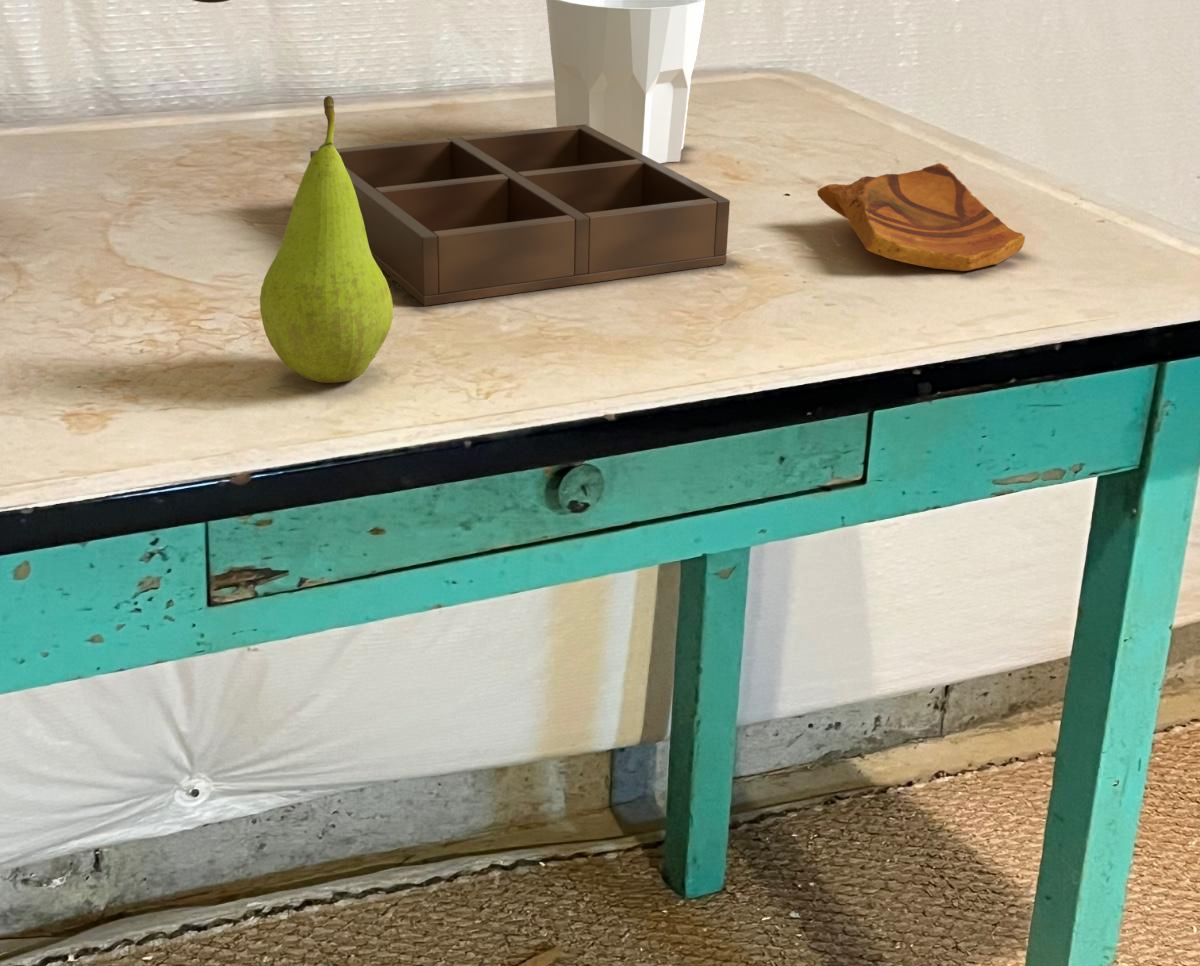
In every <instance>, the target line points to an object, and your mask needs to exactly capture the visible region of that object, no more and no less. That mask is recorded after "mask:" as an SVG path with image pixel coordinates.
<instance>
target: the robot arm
mask: <svg viewBox="0 0 1200 966" xmlns="http://www.w3.org/2000/svg"><path fill="white" fill-rule="evenodd" d="M192 1H193V2H198V3H206V4H207V3H208V4H217V3H224V2H229V1H230V0H192Z"/></svg>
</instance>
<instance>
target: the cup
mask: <svg viewBox="0 0 1200 966" xmlns="http://www.w3.org/2000/svg"><path fill="white" fill-rule="evenodd" d="M545 1H546V13H547V23H548V33H549V44H550V45H549V46H550V55H551V64H552V73H553V81H554V102H555V121H556V127H562V126H572V125H573V126H575V125H583V124H585V125H587V126H589V127H591V128H593V129H595V130H597V131H599V132H601V133H602V134H604V135H606V136H608V137H610V138H612V139H614V140H616V141H618V142H620V143H621V144H623V145H625V146H627V147H629V148H631V149H633V150H635V151H637V152H639V153H641V154H642V155H644V156H646V157H648V158H650V159H652V160H654V161H656V162H658V163H660V164H664V163H665V164H666V163H677V162H678V163H679V162H681V156H682V150H683V149H684V144H685V143H684V142H685V134H686V126H687V118H688V117H687V116H688V108H689V99H690V91H691V81H692V75H693V72H694V67H695V64H696V60H697V56H698V55H697V53H698V48H699V43H700V37H701V31H702V27H703V26H702V25H703V20H704V19H703V18H704V13H705V9H706V2H707V1H706V0H545Z"/></svg>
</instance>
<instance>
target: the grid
mask: <svg viewBox="0 0 1200 966" xmlns="http://www.w3.org/2000/svg"><path fill="white" fill-rule="evenodd" d="M335 149H336V150H337V152H338V153H339V155H340V156H341V159H342V161H343V164H344V166H345V168H346V170H347V172H348V174H349V177H350V179H351V181H352V184H353V187H354V190H355V193H356V196H357V199H358V203H359V207H360V210H361V214H362V217H363V221H364V226H365V231H366V235H367V240H368V244H369V248H370V251H371V254H372V257H373V258H374V260H375V262H376V264H377V265H378V267H379V268H380V270H381V271H382V272H384V274H386V275H387V276H388V277H390V278H391V279H392V280H393V281H394V282H396V283H397V284H398V285H399V286H401V288H403V289H404V290H405V291H406V292H407V293H409V295H411V296H412V297H413V298H415V300H417V301H418V303H421V305H423V306H424V307H427V306H428V307H429V306H435V305H440V304H441V305H442V304H448V303H456V302H462V301H469V300H477V299H484V298H491V297H500V296H505V295H506V296H507V295H513V294H519V293H526V292H527V293H528V292H533V291H534V292H535V291H541V290H550V289H556V288H565V287H571V286H577V285H584V284H592V283H598V282H606V281H612V280H614V281H615V280H619V279H621V280H622V279H628V278H635V277H641V276H642V277H643V276H649V275H657V274H664V273H671V272H678V271H684V270H691V269H692V270H693V269H698V268H705V267H713V266H720V265H726V264H727V257H728V256H727V252H728V239H729V238H728V235H729V234H728V233H729V221H730V205H731V204H730V203H731V201H730V199H729V198H726V197H724V196H723V195H720V194H718V193H717V192H715V191H713V190H712V189H709V188H707V187H706V186H703V185H701V184H700V183H698V182H695V181H694V180H692V179H690V178H689V177H686V176H685V175H683V174H680V173H679V172H677V171H675V170H673V169H672V168H669V167H667V166H666V165H663V164H662V163H658V162H656V161H654V160H652V159H650V158H648V157H646V156H644V155H642V154H641V153H639V152H637V151H635V150H633V149H631V148H629V147H627V146H625V145H623V144H621V143H620V142H618V141H616V140H614V139H612V138H610V137H608V136H606V135H604V134H602V133H601V132H599V131H597V130H595V129H593V128H591V127H589V126H587V125H585V124H583V125H575V126H573V125H572V126H562V127H557V126H553V127H542V128H532V129H522V130H521V129H520V130H512V131H501V132H492V133H491V132H489V133H481V134H471V135H462V136H461V135H460V136H452V137H441V138H439V137H438V138H431V139H430V138H429V139H419V140H411V141H410V140H409V141H400V142H387V143H380V144H379V143H378V144H370V145H359V146H358V145H357V146H347V147H339V148H338V147H337V148H335ZM317 150H318V149H316V150H310V153H309V154H310V159H311V158H312V157H313V155H314V154H315V152H316V151H317Z"/></svg>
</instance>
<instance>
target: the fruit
mask: <svg viewBox="0 0 1200 966" xmlns="http://www.w3.org/2000/svg"><path fill="white" fill-rule="evenodd" d="M334 101H335V100H334V97H332V96H331V95H327V96H325V97H324V100H323V108H324V109H323V110H324V115H325V117H326V119H327V120H326V121H327V128H326V129H327V130H326V137H325V140H324V143H323V144H322V145H321V146H319V148H317V149H316V150H317V151H316V150H315V151H316V152H315V154H314V155H313V157H312V158H311V157H310V161H309V162H308V165H307V167H306V169H305V171H304V173H303V176H302V178H301V181H300V183H299V186H298V189H297V191H296V194H295V197H294V200H293V203H292V207H291V210H290V211H291V212H290V215H289V219H288V221H287V224H286V228H285V231H284V234H283V236H282V240H281V243H280V246H279V248H278V251H277V253H276V255H275V258H274V259H273V260H272V262H271V264H270V265H269V268H268V269H267V272H266V274H265V277H264V279H263V282H262V285H261V289H260V295H259V308H260V310H259V311H260V316H261V321H262V326H263V330H264V333H265V335H266V338H267V340H268V342H269V344H270V346H271V347H272V348H273V350H274V352H275V353H276V355H277V356H278V358H279V359H280V360H281V361H282V362H283V363H284V364H285V365H286V366H287V367H288V368H290V369H291V370H292V371H293V372H295V373H296V374H298V375H299V376H301V377H302V378H304V379H307V380H310V381H313V382H316V383H324V384H333V383H343V382H350V381H353V380H356V379H357V378H359V377H360V376H361V375H362V374H364V372H365V371H366V370H367V369H368V368H369V366H370V364H371V363H372V361H373V360H374V358H375V356H376V355H377V354H378V352H379V351H380V349H381V347H382V346H383V344H384V343H385V341H386V340H387V339H386V338H387V337H388V335H389V332H390V331H391V328H392V324H393V323H392V322H393V317H394V305H393V304H394V303H393V298H392V297H393V296H392V293H391V289H390V288H389V284H388V281H387V279H386V277H385V275H384V274H383V271H382V269H381V268H379V267H378V265H377V264H376V262H375V260H374V258H373V257H372V254H371V251H370V248H369V244H368V240H367V235H366V231H365V226H364V221H363V217H362V214H361V210H360V207H359V203H358V199H357V196H356V193H355V190H354V187H353V184H352V181H351V179H350V177H349V174H348V172H347V170H346V168H345V166H344V164H343V161H342V159H341V156H340V155H339V153H338V152H337V150H336V149H337V148H336V147H335V145H334V137H335V136H334V135H335V125H336V123H335V122H336V121H335V117H336V116H335V102H334Z"/></svg>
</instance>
